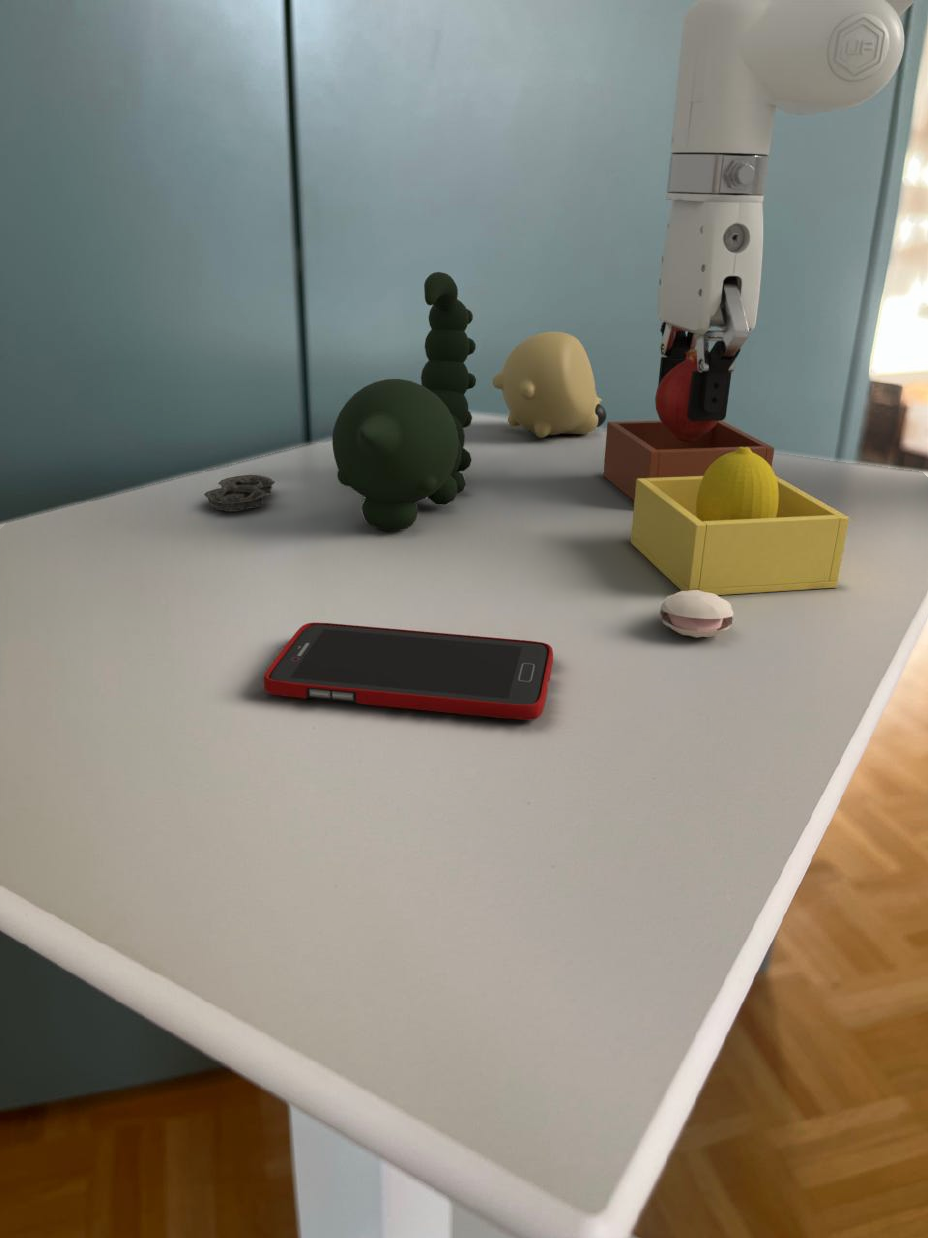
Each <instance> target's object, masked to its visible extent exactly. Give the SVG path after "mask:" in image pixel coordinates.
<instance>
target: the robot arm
mask: <svg viewBox="0 0 928 1238" xmlns="http://www.w3.org/2000/svg"><path fill="white" fill-rule="evenodd" d="M916 1H917V0H696V1H695V2H693V3H692V4H691V5H690V7H689V8H688V9H687V11H686V13H685V15H684V18H683V21H682V22H683V23H682V29H681V30H682V31H681V38H680V48H679V57H678V71H677V78H676V79H677V81H676V89H675V90H676V91H675V101H674V110H673V111H674V112H673V122H672V131H671V141H670V155H669V161H668V163H669V164H668V173H667V182H666V183H667V184H666V192H665V200H666V201H671V203H670V209H669V215H668V220H667V224H666V231H665V237H664V243H663V250H662V255H661V256H662V257H661V263H660V271H659V280H658V290H657V315H658V316H659V319H660V323H661V325H660V333H661V337H662V339H661V342H660V347H659V353H660V356H661V357H660V364H659V371H658V372H659V374H658V383H657V387H658V386H659V384H660V382H661V380H662V379H663V378H664V376H665V375H666V374H667V373H668V372H669V371H670V370H671V369H672V368H674V367H675V366H677V365H678V364H680V363H681V362H683V361H685V360H686V357H687V355H686V352H688V351H689V350H691V349H695V350H697V367H698V371H692V378H691V386H690V395H689V404H688V413H687V417H688V419H690V420H691V421H721V420H722V421H724V420H725V419H726V416H727V410H728V402H729V395H730V387H731V381H732V380H731V379H732V373H734V371H735V369H736V359H737V358H738V357H739V355H740V352H741V349H742V347H743V346H744V344H745V343H746V341H747V340H748V338H749V336H750V333H752V332H753V331H754V329H755V328H756V324H757V318H758V311H759V302H760V291H761V282H762V281H761V279H762V267H763V255H764V253H763V252H764V207H763V203H764V198H765V192H766V191H765V190H766V183H767V175H768V168H769V161H770V160H769V159H770V153H771V144H772V140H773V139H772V137H773V131H774V124H775V116H776V108H777V109H778V110H780V111H782V112H784V113H786V114H789V115H794V116H807V115H809V116H810V115H815V114H820V113H830V112H836V111H842V110H846V109H851V108H853V107H856V106H859V105H861V104H863V103H866V102H867V101H869V100H870V99H872V98H873V97H875V96H876V95H877V94H878V93H879V92H881V91H882V90H883V89H884V88H885V87H886V86H887V85H888V84H889V82H890V81H891V80H892V78H893V77H894V75H895V74H896V72H897V70H898V69H899V66H900V64H901V61H902V59H903V54H904V50H905V31H904V27H903V23H902V20H901V18H900V17H901V16H902V15H903V14H904V13H905V12H906V11H907V10H908V9H909V8H910V7H911V6H912V4H914V3H915V2H916ZM714 327H716V328H719V329H722V330H709V329H711V328H714ZM710 342H715V343H714V345H712V347H711V348H710Z"/></svg>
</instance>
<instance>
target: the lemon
mask: <svg viewBox="0 0 928 1238" xmlns="http://www.w3.org/2000/svg"><path fill="white" fill-rule="evenodd" d="M776 476H777V475H776V473H775V471H774V469H773V467H772V468H771V466H770V465H769V464H768V463H767V462H766V460H764V459H763V458H762V457H760V456H758V455H757V454H755V453H752V451H751V450H750V448H748V447H739V448H738V449H737V450H736V451H734V452H730V453H727V454H725V455H723V456H721V457H719V458H718V459H717V460H715V461H714V462H713V463H712V464H711V465H710V466H709V468H708V469H707V470H706V472H705V474H704V476H703V478H702V481H701V483H700V486H699V490H698V494H697V501H696V515H697V518H698V519H699V520H701V521H702V522H703V521H719V520H740V519H760V518H776V515H777V510H778V502H779V491H778V483H777V478H776Z"/></svg>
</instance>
